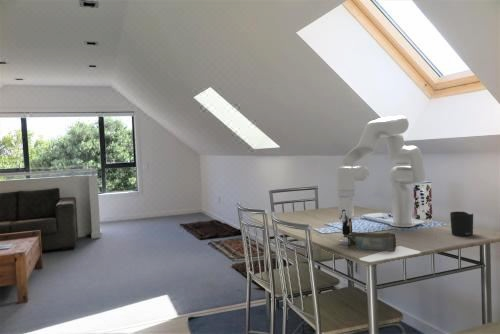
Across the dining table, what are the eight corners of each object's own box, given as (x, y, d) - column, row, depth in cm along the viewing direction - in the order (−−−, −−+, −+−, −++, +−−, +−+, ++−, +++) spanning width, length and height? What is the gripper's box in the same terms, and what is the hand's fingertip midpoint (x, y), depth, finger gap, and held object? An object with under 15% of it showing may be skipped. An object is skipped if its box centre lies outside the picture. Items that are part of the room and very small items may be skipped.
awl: (352, 236, 175) (351, 212, 174) (350, 237, 172) (349, 214, 171) (344, 235, 176) (344, 212, 176) (342, 237, 174) (341, 213, 173)
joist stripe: (344, 236, 185) (344, 235, 185) (363, 237, 181) (363, 237, 181) (334, 244, 171) (334, 243, 171) (354, 245, 167) (354, 245, 167)
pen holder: (450, 235, 176) (449, 214, 176) (451, 231, 184) (450, 211, 184) (474, 237, 171) (473, 215, 171) (473, 232, 180) (473, 211, 179)
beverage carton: (350, 244, 170) (350, 230, 170) (396, 247, 162) (396, 232, 162) (347, 249, 163) (346, 234, 162) (395, 252, 155) (394, 236, 154)
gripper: (343, 191, 182) (344, 229, 183) (332, 195, 168) (334, 236, 169) (358, 191, 179) (360, 230, 179) (349, 196, 164) (351, 238, 165)
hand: (347, 233), depth 174 cm, fingers closed on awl, 3 cm apart
